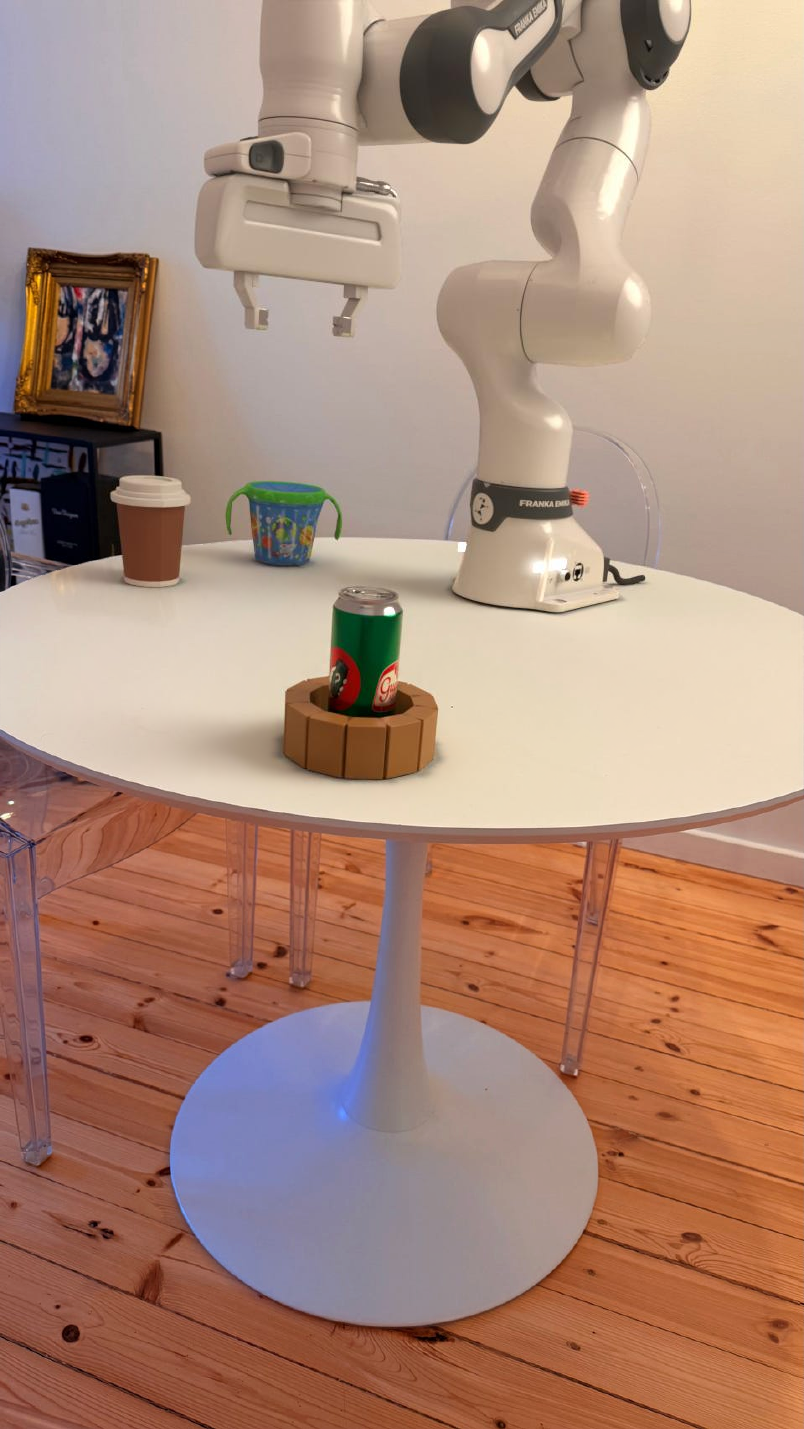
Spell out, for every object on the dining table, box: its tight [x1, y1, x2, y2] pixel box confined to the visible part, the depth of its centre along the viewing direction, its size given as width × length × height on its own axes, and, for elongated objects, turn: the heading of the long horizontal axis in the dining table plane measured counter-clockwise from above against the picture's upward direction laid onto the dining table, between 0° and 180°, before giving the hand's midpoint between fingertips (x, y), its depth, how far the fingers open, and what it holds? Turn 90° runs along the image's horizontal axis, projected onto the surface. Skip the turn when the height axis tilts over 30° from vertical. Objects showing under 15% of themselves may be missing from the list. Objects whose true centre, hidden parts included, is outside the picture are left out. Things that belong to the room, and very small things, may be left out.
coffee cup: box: [110, 474, 192, 588], centre depth 117 cm, size 9×9×12 cm
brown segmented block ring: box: [283, 675, 439, 780], centre depth 74 cm, size 11×11×4 cm
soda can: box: [327, 586, 404, 718], centre depth 73 cm, size 5×5×12 cm
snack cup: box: [225, 480, 343, 566], centre depth 133 cm, size 16×10×10 cm
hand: (301, 333), depth 92 cm, fingers open, 8 cm apart
